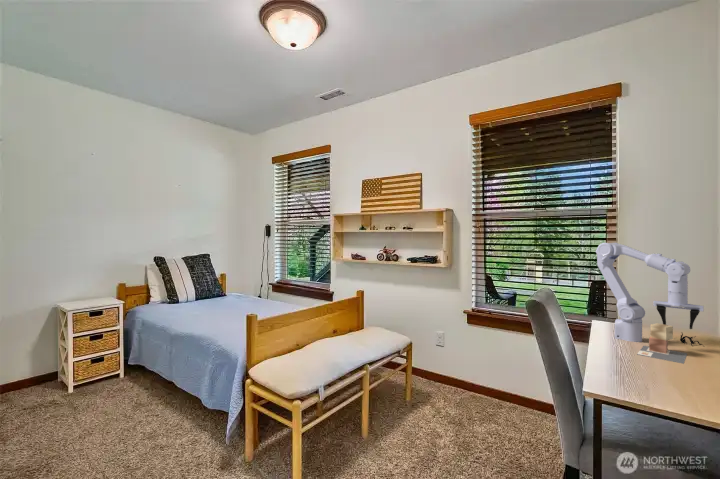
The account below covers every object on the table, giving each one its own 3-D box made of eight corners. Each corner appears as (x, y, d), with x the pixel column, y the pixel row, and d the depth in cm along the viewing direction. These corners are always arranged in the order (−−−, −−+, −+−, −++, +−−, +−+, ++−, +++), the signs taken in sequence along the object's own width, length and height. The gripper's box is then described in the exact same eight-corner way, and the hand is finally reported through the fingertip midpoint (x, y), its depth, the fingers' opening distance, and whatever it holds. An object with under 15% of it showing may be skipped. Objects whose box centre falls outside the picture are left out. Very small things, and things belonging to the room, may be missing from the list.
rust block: (649, 350, 135) (649, 337, 135) (651, 347, 138) (651, 335, 138) (666, 353, 131) (666, 340, 131) (667, 350, 135) (667, 338, 135)
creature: (703, 348, 144) (678, 340, 149) (707, 336, 143) (682, 329, 148) (703, 353, 138) (676, 344, 144) (707, 340, 137) (680, 332, 143)
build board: (636, 356, 130) (636, 354, 130) (643, 347, 141) (643, 345, 141) (683, 365, 121) (683, 363, 121) (687, 355, 132) (687, 353, 132)
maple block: (650, 337, 136) (650, 324, 136) (657, 335, 138) (657, 323, 138) (666, 340, 131) (666, 327, 131) (672, 338, 134) (672, 326, 134)
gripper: (652, 291, 139) (652, 325, 139) (703, 295, 128) (702, 332, 128) (654, 289, 143) (654, 322, 143) (703, 293, 133) (703, 328, 133)
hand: (677, 326), depth 136 cm, fingers open, 7 cm apart
